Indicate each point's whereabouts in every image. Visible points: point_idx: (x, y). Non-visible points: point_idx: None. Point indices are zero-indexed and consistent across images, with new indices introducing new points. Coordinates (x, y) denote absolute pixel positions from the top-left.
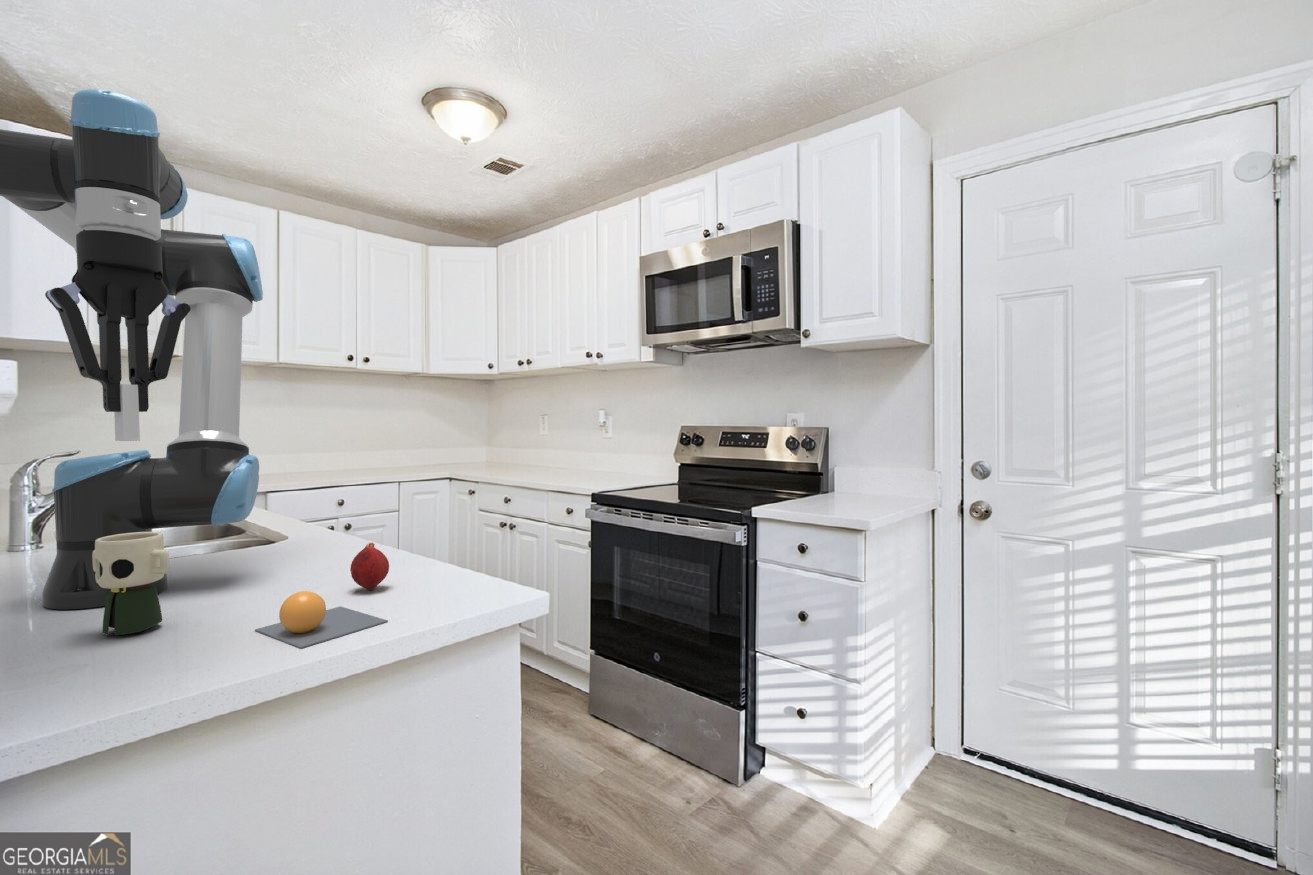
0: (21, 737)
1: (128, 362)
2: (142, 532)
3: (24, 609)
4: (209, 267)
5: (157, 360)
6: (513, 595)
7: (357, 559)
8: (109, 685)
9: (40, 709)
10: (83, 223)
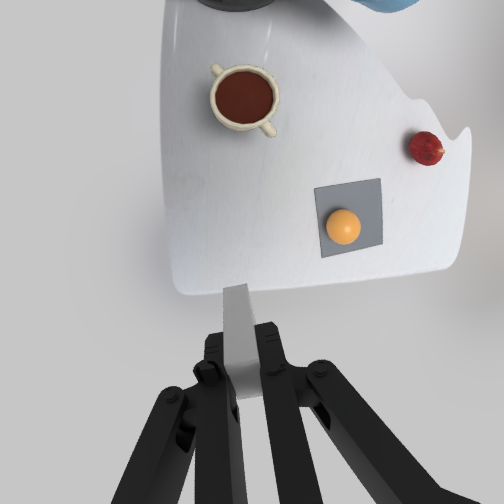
0: (178, 289)
1: (265, 412)
2: (261, 71)
3: None
4: None
5: (325, 428)
6: (449, 249)
7: (423, 152)
8: (214, 240)
9: (182, 255)
10: None
